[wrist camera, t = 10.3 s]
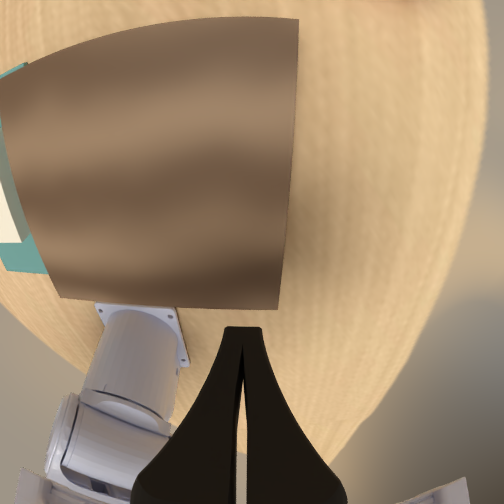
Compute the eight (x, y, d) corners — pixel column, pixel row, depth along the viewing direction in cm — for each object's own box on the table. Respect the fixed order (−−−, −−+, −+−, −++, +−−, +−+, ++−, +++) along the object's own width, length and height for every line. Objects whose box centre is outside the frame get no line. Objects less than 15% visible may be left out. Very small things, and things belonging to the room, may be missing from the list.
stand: (274, 269, 21) (277, 309, 18) (80, 264, 21) (60, 297, 18) (287, 31, 12) (298, 19, 8) (36, 71, 12) (-4, 80, 8)
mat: (76, 273, 22) (74, 276, 21) (8, 268, 22) (6, 270, 21) (27, 62, 11) (23, 63, 11) (-41, 102, 11) (-44, 103, 11)
